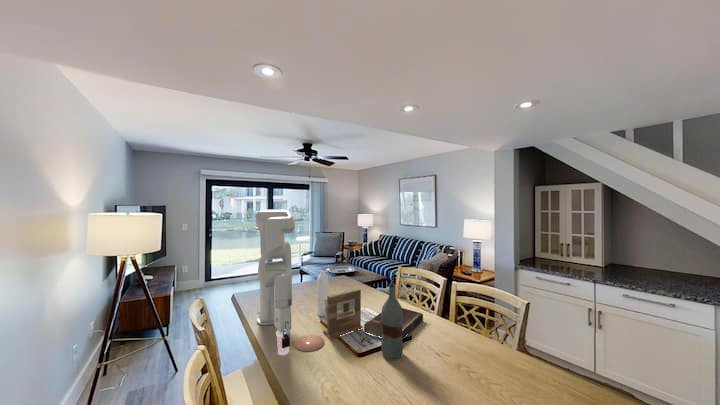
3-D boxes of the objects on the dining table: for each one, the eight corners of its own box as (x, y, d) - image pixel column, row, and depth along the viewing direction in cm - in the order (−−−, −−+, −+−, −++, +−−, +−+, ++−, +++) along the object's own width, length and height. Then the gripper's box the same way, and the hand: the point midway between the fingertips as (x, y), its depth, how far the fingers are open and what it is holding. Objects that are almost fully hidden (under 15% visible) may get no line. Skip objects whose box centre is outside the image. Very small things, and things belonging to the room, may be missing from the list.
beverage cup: (285, 346, 122) (285, 315, 122) (293, 351, 119) (293, 319, 118) (273, 352, 118) (272, 320, 118) (281, 357, 114) (281, 324, 114)
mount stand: (321, 331, 136) (321, 292, 136) (352, 322, 146) (352, 285, 146) (330, 339, 128) (330, 298, 128) (362, 329, 139) (362, 290, 138)
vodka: (387, 363, 110) (387, 288, 110) (377, 351, 118) (377, 282, 118) (407, 357, 114) (407, 285, 113) (396, 346, 122) (396, 279, 122)
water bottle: (323, 317, 152) (323, 272, 152) (314, 314, 156) (314, 270, 156) (333, 312, 159) (333, 269, 159) (325, 309, 163) (325, 267, 163)
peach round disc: (288, 345, 124) (288, 343, 124) (309, 333, 134) (309, 332, 134) (309, 354, 116) (309, 352, 116) (329, 341, 127) (329, 340, 127)
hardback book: (398, 345, 124) (398, 334, 124) (364, 334, 135) (364, 324, 135) (423, 322, 148) (423, 312, 148) (392, 313, 159) (392, 305, 158)
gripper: (269, 297, 123) (269, 337, 123) (280, 310, 109) (280, 355, 109) (285, 294, 127) (285, 332, 127) (298, 306, 113) (298, 350, 113)
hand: (283, 343), depth 118 cm, fingers closed on beverage cup, 6 cm apart
